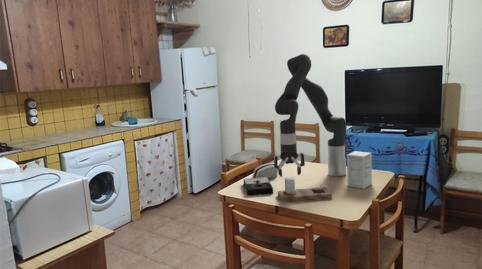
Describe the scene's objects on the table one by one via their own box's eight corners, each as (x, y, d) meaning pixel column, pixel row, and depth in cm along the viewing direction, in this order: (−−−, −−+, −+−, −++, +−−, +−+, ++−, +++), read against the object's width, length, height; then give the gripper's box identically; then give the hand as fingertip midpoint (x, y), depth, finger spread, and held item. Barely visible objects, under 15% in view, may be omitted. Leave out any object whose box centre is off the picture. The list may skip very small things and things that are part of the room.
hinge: (271, 174, 217) (275, 159, 212) (277, 178, 214) (280, 163, 209) (249, 180, 207) (252, 165, 203) (254, 184, 204) (257, 169, 200)
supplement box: (372, 184, 189) (372, 152, 186) (364, 189, 183) (364, 156, 180) (354, 181, 196) (354, 150, 193) (346, 185, 189) (346, 154, 186)
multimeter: (247, 196, 182) (247, 187, 181) (243, 185, 201) (243, 176, 200) (273, 194, 183) (273, 185, 183) (267, 183, 202) (266, 174, 201)
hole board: (325, 191, 182) (325, 186, 181) (331, 198, 172) (331, 193, 171) (277, 195, 180) (277, 190, 180) (281, 203, 170) (281, 197, 170)
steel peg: (293, 196, 178) (292, 177, 176) (295, 199, 174) (294, 179, 172) (285, 197, 177) (284, 177, 176) (286, 200, 173) (286, 180, 172)
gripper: (301, 139, 175) (302, 172, 178) (271, 141, 174) (273, 174, 177) (305, 142, 167) (306, 176, 170) (274, 145, 166) (276, 179, 169)
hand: (289, 175), depth 173 cm, fingers open, 8 cm apart
